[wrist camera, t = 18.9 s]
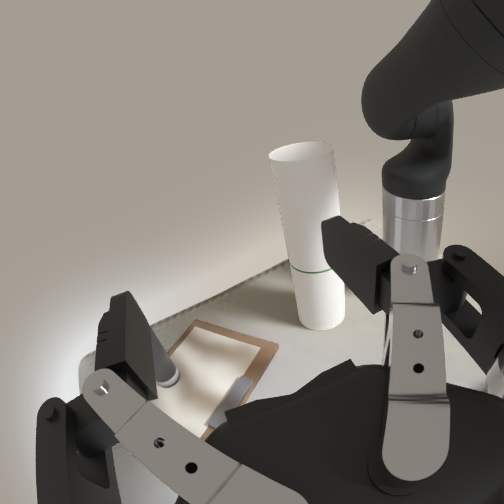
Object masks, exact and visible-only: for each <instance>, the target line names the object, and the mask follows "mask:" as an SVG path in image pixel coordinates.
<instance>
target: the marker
mask: <svg viewBox="0 0 504 504" xmlns="http://www.w3.org/2000/svg"><path fill="white" fill-rule="evenodd" d="M135 301H136V300H135ZM136 303H137V302H136ZM138 306H139V305H138ZM139 308H140V307H139ZM109 310H110V308H109ZM108 312H109V311H108ZM142 313H143V312H142ZM146 320H147V319H146ZM149 327H150V326H149ZM150 331H151V340H152V351H153V361H154V370H155V379H156V382H157V383H158V384H159V385H160V386H161V387H163V388H170V387H172V386H174V385H176V384H177V383H178V381H179V379H180V372H179V370H178V369H177V367H176V366H175V364H174V363H173V362H172V360H171V359H170V357H169V356H168V354H167V353H166V351H165V350H164V348H163V346H162V345H161V343H160V342H159V340H158V339H157V337H156V335H155V334H154V332H153V331H152V329H151V327H150Z"/></svg>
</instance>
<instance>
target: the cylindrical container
mask: <svg viewBox="0 0 504 504" xmlns="http://www.w3.org/2000/svg"><path fill="white" fill-rule="evenodd" d="M269 160H270V165H271V170H272V174H273V180H274V184H275V189H276V194H277V199H278V204H279V209H280V215H281V220H282V225H283V230H284V236H285V241H286V246H287V252H288V257H289V263H290V268H291V274H292V280H293V286H294V291H295V297H296V303H297V309H298V315H299V320H300V322H301V323H302V324H303V325H304V326H305V327H307V328H308V329H311V330H315V331H325V330H329V329H332V328H334V327H336V326H337V325H339V324H340V323H341V321H342V320H343V318H344V315H345V293H344V282H343V281H342V280H341V279H340V277H339V276H338V275H337V274H336V273H335V272H334V271H333V270H332V269H331V268H330V267H329V265H328V264H327V262H326V260H325V257H324V252H323V242H322V232H321V222H322V221H324V220H326V219H329V218H332V217H335V216H338V215H339V216H340V206H339V196H338V186H337V177H336V167H335V159H334V152H333V146H332V145H330V144H327V143H324V142H302V143H295V144H290V145H286V146H283V147H280V148H278V149H276V150H274V151H272V152H271V153H270V154H269Z"/></svg>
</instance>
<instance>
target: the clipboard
mask: <svg viewBox="0 0 504 504" xmlns="http://www.w3.org/2000/svg"><path fill="white" fill-rule="evenodd" d="M278 348H279V346H278V344H277V343H273V342H269V341H266V340H262V339H259V338H255V337H252V336H248V335H245V334H241V333H238V332H235V331H232V330H228V329H225V328H222V327H219V326H215V325H212V324H209V323H206V322H203V321H200V320H197V319H196V320H195V321H194V323H193V324H192V325H191V326H190V327H189V329H188V330H187V331H186V332H185V333H184V335H183V336H182V337H181V338H180V339H179V340H178V342H177V343H176V344H175V345H174V346H173V348H172V349H171V350H170V351H169V352H168V356H169V357H170V359H171V360H172V362H173V363H174V364H175V366H176V367H177V369H178V370H179V372H180V379H179V381H178V383H177V384H176V385H174V386H172V387H170V388H163V387H161V386H160V385H159V384H158V383H157V382H156V387H157V394H158V399H155V400H151V401H150V402H151V403H153V404H154V405H155V406H156V407H158V408H159V409H160V410H162V411H163V412H164V413H165V414H167V415H168V416H169V417H171V418H172V419H173V420H175V421H176V422H177V423H179V424H180V425H182V426H183V427H184V428H186V429H187V430H189V431H190V432H191V433H193V434H194V435H196V436H197V437H199V438H200V439H202V440H203V441H205V440H206V438H207V437H208V436H209V435H210V433H212V432H213V431H214V430H215V429H216V428H217V427H218V426H219V425H221V424H222V423H224V422H225V421H227V419H226V416H225V413H224V411H227V410H230V409H233V408H236V407H239V406H241V405H244V403H245V402H246V400H247V399H248V397H249V396H250V394H251V392H252V391H253V389H254V388H255V386H256V384H257V383H258V381H259V380H260V378H261V376H262V375H263V373H264V371H265V370H266V368H267V367H268V365H269V363H270V362H271V360H272V358H273V357H274V355H275V353H276V352H277V350H278Z"/></svg>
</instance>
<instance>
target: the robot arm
mask: <svg viewBox="0 0 504 504" xmlns="http://www.w3.org/2000/svg"><path fill="white" fill-rule="evenodd" d="M502 88H504V0H431V1H430V3H429V5H428V6H427V7H426V9H425V10H424V11H423V13H422V14H421V15H420V16H419V18H418V19H417V20H416V22H415V23H414V24H413V26H412V27H411V28H410V29H409V31H408V32H407V33H406V34H405V36H404V37H403V38H402V40H401V41H400V42H399V43H398V44H397V45H396V46H395V47H394V48H393V49H392V50H391V51H390V52H389V53H388V54H387V55H386V56H385V57H384V58H383V59H382V60H381V61H380V62H379V63H378V64H377V65H376V66H375V67H374V68H373V69H372V71H371V72H370V73H369V75H368V76H367V78H366V81H365V83H364V86H363V90H362V98H361V101H362V102H361V103H362V111H363V115H364V118H365V120H366V122H367V124H368V126H369V127H370V128H371V129H372V131H374V132H375V133H376V134H377V135H379V136H381V137H382V138H386V139H389V140H406V139H411V141H410V143H409V144H408V146H407V147H406V148H405V149H404V150H403V151H401V152H400V153H399V154H397V155H396V156H394V157H392V158H391V159H389V160H388V161H387V162H385V164H384V165H383V168H382V192H383V193H382V194H383V240H382V239H379V237H378V236H377V235H375V234H373V233H372V232H371V231H370V230H369V229H367V228H366V227H365V226H362V225H359V224H356V223H351V224H350V223H349V222H348V221H346V220H345V219H344V218H342V217H341V216H339V215H338V216H335V217H332V218H329V219H326V220H324V221H322V222H321V232H322V242H323V252H324V257H325V260H326V262H327V264H328V265H329V267H330V268H331V269H332V270H333V271H334V272H335V273H336V274H337V275H338V276H339V277H340V279H341V280H342V281H343V282H344V283H345V284H346V285H347V286H348V287H349V288H350V289H351V291H352V292H353V293H354V294H355V295H356V296H357V297H358V298H359V299H360V301H361V302H362V303H363V304H364V305H365V306H366V307H367V308H368V310H369V311H370V312H371V313H372V314H375V313H377V312H379V311H381V310H383V311H384V312H385V313H386V314H385V327H384V344H383V357H382V364H381V365H375V364H373V365H361V366H355V365H354V363H353V362H352V360H351V359H349V360H347V361H345V362H343V363H341V364H339V365H337V366H335V367H333V368H331V369H329V370H326V371H324V372H322V373H321V374H319V375H318V376H317V377H315V378H314V379H313V380H311V381H310V382H309V383H307V384H306V385H305V386H303V387H302V388H301V389H299V390H298V391H297V392H295V393H293V394H290V395H285V396H279V397H273V398H267V399H260V400H255V401H252V402H250V403H247V404H244V405H241V406H239V407H236V408H233V409H230V410H227V411H224V413H225V416H226V419H227V421H225V422H224V423H222V424H221V425H219V426H218V427H217V428H216V429H215V430H214V431H213V432H212V433H210V435H209V436H208V437H207V438H206V440H205V441H203V440H202V439H200V438H199V437H197V436H196V435H194V434H193V433H191V432H190V431H189V430H187V429H186V428H184V427H183V426H182V425H180V424H179V423H177V422H176V421H175V420H173V419H172V418H171V417H169V416H168V415H167V414H165V413H164V412H163V411H162V410H160V409H159V408H158V407H156V406H155V405H154V404H153V403H151V402H150V401H151V400H155V399H158V394H157V387H156V379H155V370H154V361H153V351H152V340H151V331H150V327H149V324H148V322H147V320H146V318H145V316H144V314H143V313H142V311H141V309H140V308H139V306H138V304H137V303H136V301H135V299H134V297H133V296H132V294H131V293H130V292H129V291H126V292H124V293H121V294H118V295H116V296H113V297H111V300H110V310H109V312H106V313H104V314H103V316H102V318H101V320H100V322H99V326H98V337H97V346H96V358H95V372H93V373H92V374H91V375H90V376H89V377H88V378H87V379H86V381H85V383H84V385H83V391H82V392H83V393H82V394H81V395H80V396H78V397H76V398H75V399H73V400H71V401H70V402H68V403H65V402H64V401H63V400H61V399H60V398H57V397H54V398H50V399H48V400H47V401H45V402H44V403H43V404H42V406H41V407H40V409H39V411H38V415H37V428H36V485H37V499H38V504H121V499H120V494H119V489H118V484H117V479H116V473H115V467H114V461H113V454H112V446H114V445H115V444H117V443H119V442H121V444H122V445H123V446H124V447H125V448H126V449H127V450H128V451H129V452H130V453H132V454H133V455H134V456H135V457H136V458H137V459H138V460H139V461H140V462H141V463H142V464H143V465H144V466H145V467H146V468H147V469H149V470H150V471H151V472H152V473H153V474H154V475H155V476H156V477H158V478H159V479H160V480H161V481H162V482H163V483H165V484H166V485H167V486H168V487H169V488H171V489H172V490H173V491H174V492H176V493H177V494H178V495H179V496H178V498H177V500H176V502H175V504H504V276H502V275H501V274H500V273H499V272H498V271H497V270H495V269H494V268H493V267H492V266H491V265H489V264H488V263H487V262H486V261H485V260H483V259H482V258H481V257H480V256H478V255H477V254H476V253H475V252H473V251H472V250H471V249H469V248H467V247H465V246H462V245H451V246H448V247H447V248H445V250H444V252H443V258H442V259H439V260H438V253H439V246H440V239H441V231H442V223H443V213H444V201H445V188H446V187H445V186H446V180H447V177H448V175H449V173H450V169H451V161H452V147H453V146H452V145H453V125H454V116H453V104H452V100H453V99H459V98H463V97H468V96H473V95H477V94H481V93H486V92H490V91H495V90H498V89H502ZM467 293H468V294H469V295H470V296H471V297H472V298H473V299H474V300H475V301H476V302H477V303H478V304H479V305H480V307H481V310H482V315H481V314H480V313H479V312H478V311H477V310H476V309H475V308H474V307H473V306H472V305H471V304H470V303H469V302H468V301H467V300H466V296H467ZM442 323H443V324H444V326H445V327H446V328H447V329H448V330H449V331H450V332H451V333H452V335H453V336H454V337H455V338H456V339H457V340H458V342H459V343H460V344H461V345H462V346H463V347H464V349H465V350H466V351H467V352H468V353H469V355H470V356H471V357H472V358H473V359H474V361H475V362H476V363H477V364H478V365H479V367H480V368H481V369H482V370H483V372H484V373H485V374H486V375H487V377H486V382H487V386H488V391H487V393H485V392H481V391H477V390H473V389H469V388H465V387H461V386H457V385H453V384H449V383H446V370H445V353H444V341H443V330H442Z"/></svg>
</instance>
